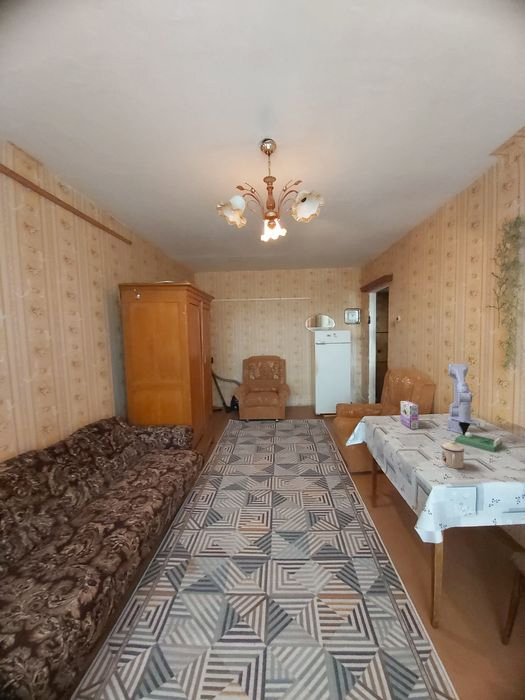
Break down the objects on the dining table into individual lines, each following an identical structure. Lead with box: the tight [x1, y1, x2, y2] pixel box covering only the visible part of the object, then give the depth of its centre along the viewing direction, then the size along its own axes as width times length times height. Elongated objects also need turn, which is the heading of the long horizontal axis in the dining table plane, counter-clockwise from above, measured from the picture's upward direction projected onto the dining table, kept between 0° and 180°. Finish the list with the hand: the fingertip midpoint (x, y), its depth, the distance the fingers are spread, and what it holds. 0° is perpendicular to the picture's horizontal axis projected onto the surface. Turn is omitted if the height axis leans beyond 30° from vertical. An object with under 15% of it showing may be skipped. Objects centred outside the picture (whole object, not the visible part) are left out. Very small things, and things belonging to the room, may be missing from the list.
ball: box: [465, 430, 473, 438], centre depth 161 cm, size 4×4×4 cm
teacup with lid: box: [441, 440, 465, 469], centre depth 133 cm, size 12×9×12 cm
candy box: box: [399, 400, 420, 430], centre depth 191 cm, size 14×6×16 cm, turn 179°
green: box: [454, 433, 503, 453], centre depth 157 cm, size 18×14×5 cm
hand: (464, 434), depth 163 cm, fingers closed, pressing on ball
